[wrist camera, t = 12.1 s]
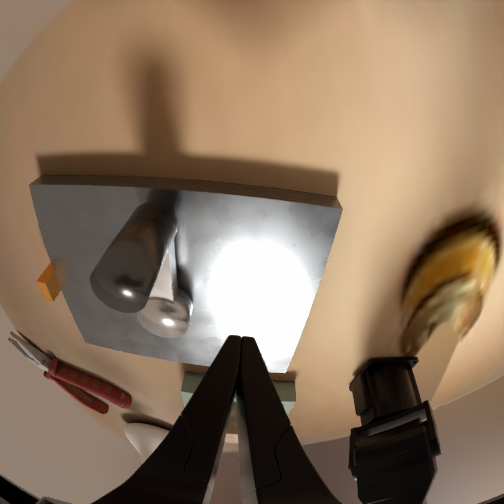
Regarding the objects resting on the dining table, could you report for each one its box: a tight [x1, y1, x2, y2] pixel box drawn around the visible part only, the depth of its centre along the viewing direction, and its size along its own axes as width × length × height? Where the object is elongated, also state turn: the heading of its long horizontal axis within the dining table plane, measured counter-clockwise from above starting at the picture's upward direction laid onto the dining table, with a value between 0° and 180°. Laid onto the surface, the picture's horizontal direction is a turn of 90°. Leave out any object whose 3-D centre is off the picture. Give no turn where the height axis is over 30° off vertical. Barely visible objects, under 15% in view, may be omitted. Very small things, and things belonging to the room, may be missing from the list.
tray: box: [181, 372, 296, 416], centre depth 32 cm, size 12×12×2 cm
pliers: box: [8, 332, 132, 414], centre depth 32 cm, size 12×20×3 cm, turn 42°
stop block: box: [225, 402, 238, 443], centre depth 30 cm, size 4×4×5 cm
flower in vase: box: [123, 423, 169, 465], centre depth 33 cm, size 13×11×25 cm
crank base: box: [29, 175, 343, 373], centre depth 20 cm, size 21×17×3 cm
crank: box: [90, 202, 193, 338], centre depth 15 cm, size 10×4×6 cm, turn 174°
